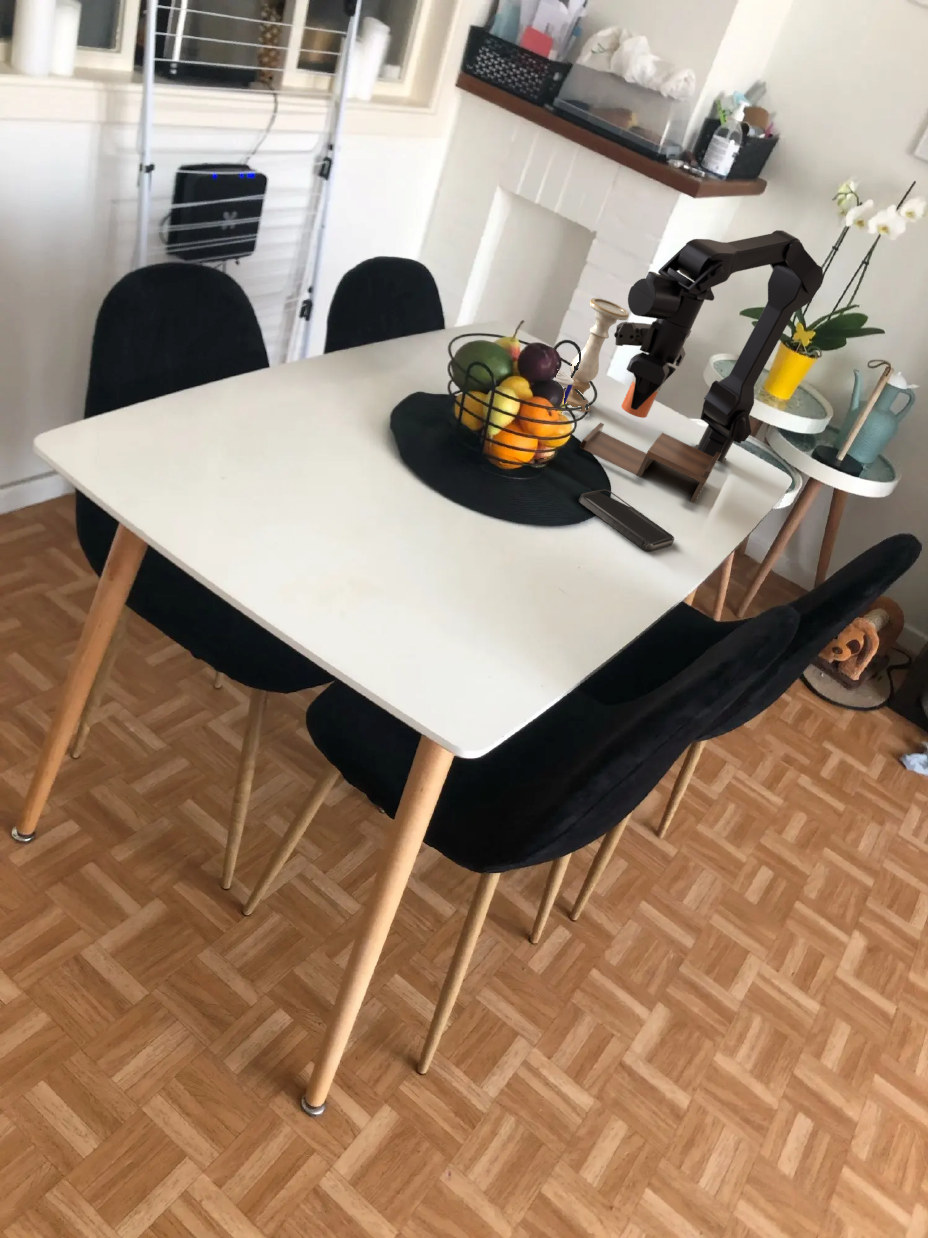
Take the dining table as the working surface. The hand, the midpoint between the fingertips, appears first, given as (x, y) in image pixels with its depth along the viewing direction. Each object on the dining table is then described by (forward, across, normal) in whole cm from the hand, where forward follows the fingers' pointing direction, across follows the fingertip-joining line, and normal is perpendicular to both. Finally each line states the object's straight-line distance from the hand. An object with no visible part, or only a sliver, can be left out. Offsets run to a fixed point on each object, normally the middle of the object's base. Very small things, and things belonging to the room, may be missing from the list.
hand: (637, 405), depth 175 cm
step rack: (+10, 0, +6) cm, 12 cm away
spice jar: (+1, 0, 0) cm, 1 cm away
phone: (+10, +24, +9) cm, 28 cm away
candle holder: (+10, -14, -14) cm, 22 cm away
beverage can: (+10, +18, -11) cm, 24 cm away
